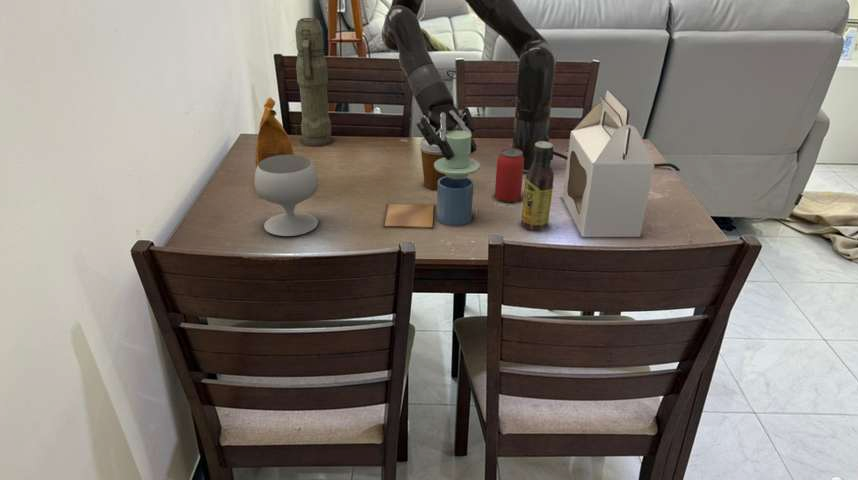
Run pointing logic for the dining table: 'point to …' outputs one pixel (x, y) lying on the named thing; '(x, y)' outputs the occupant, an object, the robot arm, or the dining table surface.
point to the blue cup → (454, 200)
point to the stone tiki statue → (312, 82)
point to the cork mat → (409, 216)
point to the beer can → (509, 175)
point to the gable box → (607, 173)
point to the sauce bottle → (538, 188)
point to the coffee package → (271, 136)
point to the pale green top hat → (458, 156)
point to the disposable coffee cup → (430, 163)
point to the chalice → (287, 192)
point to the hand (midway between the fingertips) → (462, 154)
